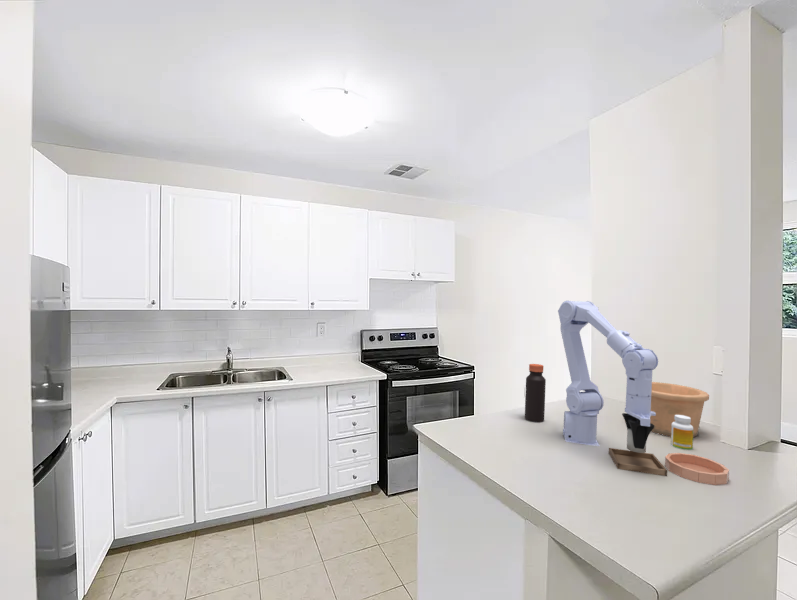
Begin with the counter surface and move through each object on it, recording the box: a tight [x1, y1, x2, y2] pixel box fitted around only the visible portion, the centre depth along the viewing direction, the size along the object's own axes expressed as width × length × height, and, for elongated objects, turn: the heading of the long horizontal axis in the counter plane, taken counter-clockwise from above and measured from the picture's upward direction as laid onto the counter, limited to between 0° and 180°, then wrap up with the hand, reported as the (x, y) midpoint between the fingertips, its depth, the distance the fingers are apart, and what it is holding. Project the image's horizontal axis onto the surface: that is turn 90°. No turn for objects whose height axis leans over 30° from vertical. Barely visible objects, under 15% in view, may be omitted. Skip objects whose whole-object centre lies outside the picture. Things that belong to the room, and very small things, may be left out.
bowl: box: [664, 452, 730, 486], centre depth 99 cm, size 13×13×3 cm
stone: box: [626, 428, 647, 453], centre depth 103 cm, size 4×4×5 cm
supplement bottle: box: [670, 415, 694, 451], centre depth 117 cm, size 5×5×10 cm
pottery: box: [650, 381, 710, 438], centre depth 134 cm, size 22×22×14 cm
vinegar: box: [524, 363, 547, 423], centre depth 140 cm, size 7×7×20 cm
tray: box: [608, 447, 668, 477], centre depth 103 cm, size 11×11×2 cm
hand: (636, 444), depth 103 cm, fingers closed on stone, 4 cm apart
